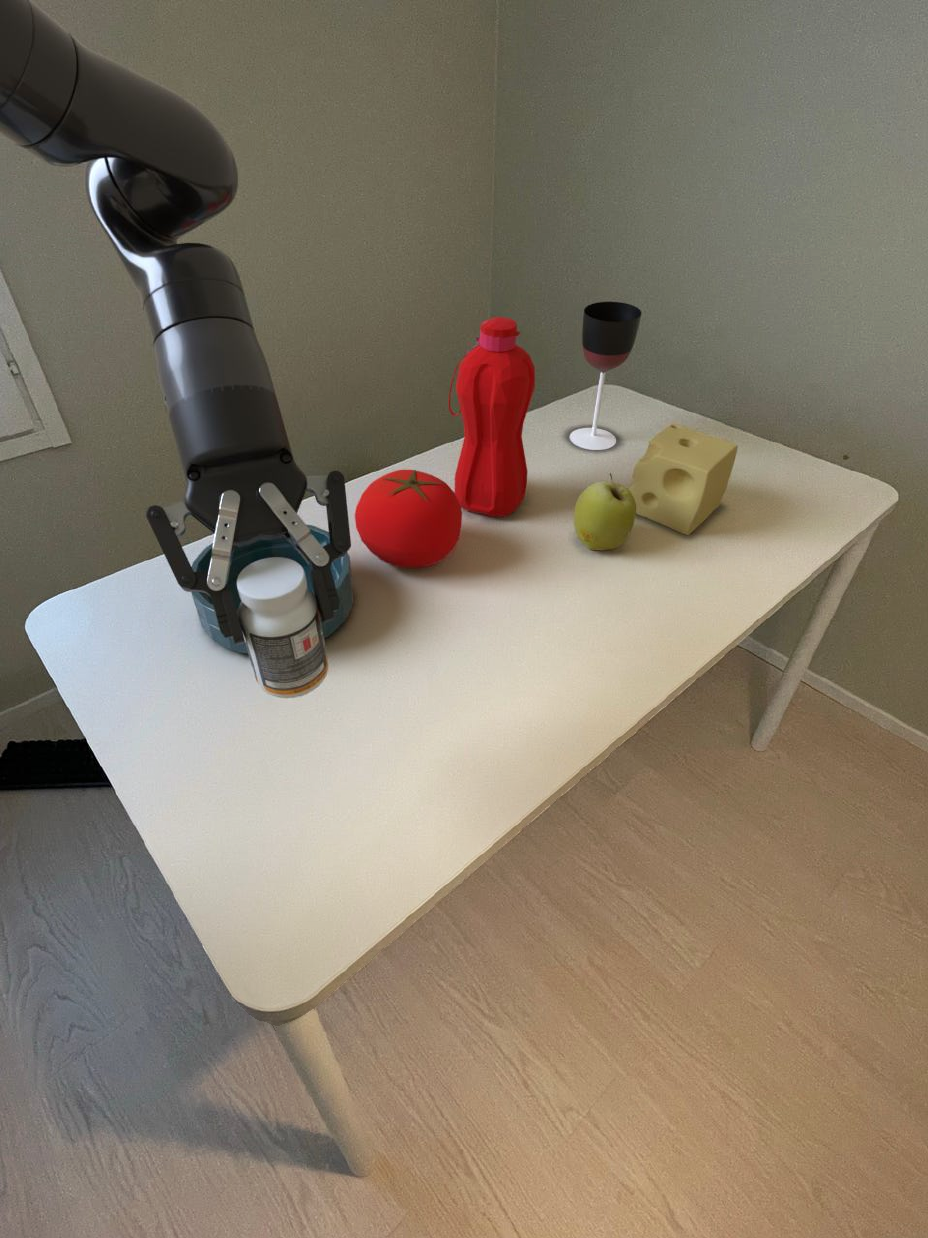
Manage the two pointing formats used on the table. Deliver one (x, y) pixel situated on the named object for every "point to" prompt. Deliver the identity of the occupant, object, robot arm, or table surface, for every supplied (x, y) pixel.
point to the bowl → (262, 551)
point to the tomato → (409, 518)
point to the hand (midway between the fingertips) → (285, 630)
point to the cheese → (682, 477)
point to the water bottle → (493, 420)
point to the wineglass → (605, 357)
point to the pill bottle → (281, 627)
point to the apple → (604, 515)
